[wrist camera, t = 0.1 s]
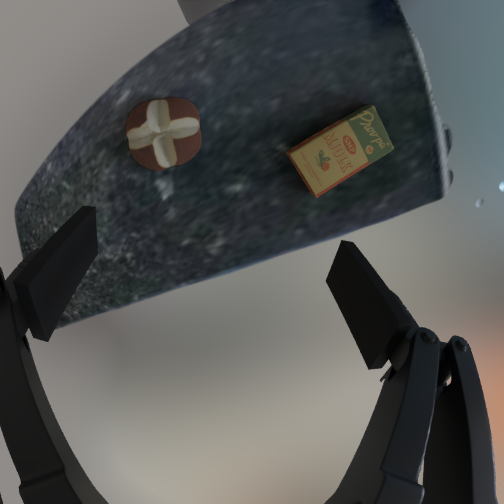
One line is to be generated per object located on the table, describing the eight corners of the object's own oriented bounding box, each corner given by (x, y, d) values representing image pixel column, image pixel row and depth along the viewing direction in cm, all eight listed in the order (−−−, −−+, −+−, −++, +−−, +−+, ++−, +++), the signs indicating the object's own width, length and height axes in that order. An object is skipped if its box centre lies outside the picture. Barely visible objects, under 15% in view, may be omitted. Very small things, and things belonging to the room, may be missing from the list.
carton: (283, 150, 42) (288, 153, 38) (363, 103, 39) (375, 103, 35) (309, 192, 46) (316, 199, 42) (384, 145, 43) (396, 149, 39)
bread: (128, 103, 36) (117, 102, 31) (201, 95, 37) (198, 93, 32) (133, 171, 41) (122, 178, 37) (203, 166, 42) (200, 172, 37)
